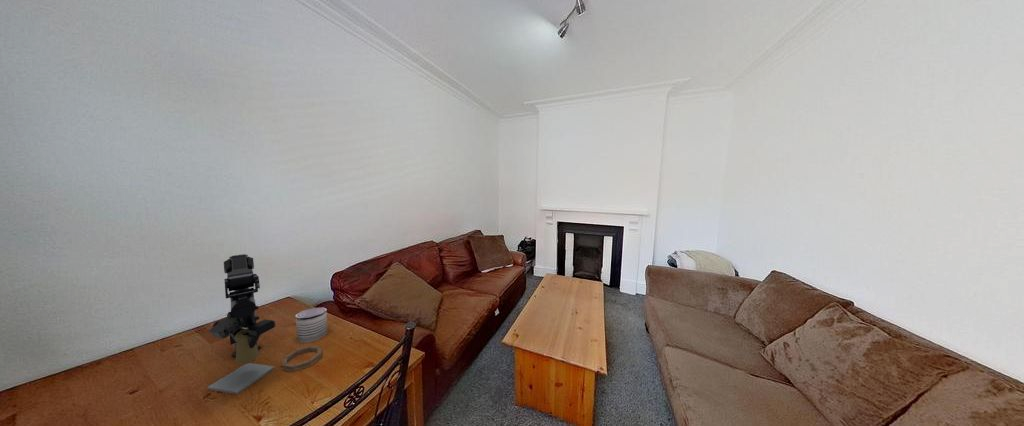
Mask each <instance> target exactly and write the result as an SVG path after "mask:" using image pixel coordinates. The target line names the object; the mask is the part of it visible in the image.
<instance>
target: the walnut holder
mask: <svg viewBox="0 0 1024 426" xmlns="http://www.w3.org/2000/svg"><path fill="white" fill-rule="evenodd" d="M306 353H316V354H315V355H314V356H312V357H311V358H310V359H308V360H305V361H302V362H299V363H288V362H290V361H291V360H292V359H294V358H296V357H297V356H298V355H299V356H300V355H303V354H306ZM322 358H323V348H322V346H320V345H314V344H310V345H306V346H303V347H299V348H296V349H294V350H293V351H291V352H289V353H288V354H287V355H285V356H283V357H282V360H281V365H280V366H281V367H280V368H281V370H282V371H286V372H291V373H292V372H299V371H301V370H304V369H306V368H309V367H312V366H313V365H314V364H316V363H317V362H318V361H320V360H321V359H322Z"/></svg>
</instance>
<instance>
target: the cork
mask: <svg viewBox="0 0 1024 426" xmlns="http://www.w3.org/2000/svg"><path fill="white" fill-rule="evenodd" d="M248 329H249V328H248ZM248 329H243V330H241V331H239V332H237V334H236V335H235V340H236V341H237V342H238V343H237V351H235V352H236V356H235V360H234V361H235V364H237V365H242V364H243V365H244V364H247V363H251V362H252V361H253V360H256V359H257V358H258V357H259V356H260V353H259V349H257V346H258V344H257V345H256V344H255V346H254V347H253V348H250V346H249V342H248V337H247V336H243V334H245V333H247V332H248Z"/></svg>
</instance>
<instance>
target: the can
mask: <svg viewBox="0 0 1024 426" xmlns="http://www.w3.org/2000/svg"><path fill="white" fill-rule="evenodd" d="M327 310H328V309H327V308H325V307H324V306H323V307H312V308H309V309H305V310H301V311H300V312H299V313H297V314H296V315H294V316H295V322H296V323H295V324H296V325H295V326H296V336H297V340H298V342H299V343H304V344H305V343H310V342H314V341H317V340H319V339H321V338H323V337H325V336H326V334H327V333H328V318H327Z"/></svg>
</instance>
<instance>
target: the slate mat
mask: <svg viewBox="0 0 1024 426" xmlns="http://www.w3.org/2000/svg"><path fill="white" fill-rule="evenodd" d="M274 370H275V366H273V365H272V366H271V365H266V364H260V363H259V364H258V363H254V362H253V363H251V362H247V363H244V364H243V365H242V366H240V367H238V368H237V369H234V371H231V372H230V373H228V374H227V375H225V376H223V377H221V378H219V379H218V380H217V381H215V382H214V383H211V384H210V385H208V386H206V387H207V390H211V391H217V392H222V393H228V394H234V395H238V394H239V393H241V392H242V391H244V390H245V389H247V388H248V387H250V386H251V385H252V384H254V383H255V382H257V381H258V380H260V379H261V378H264V376H266V375H267V374H269V373H270V372H272V371H274Z"/></svg>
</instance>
